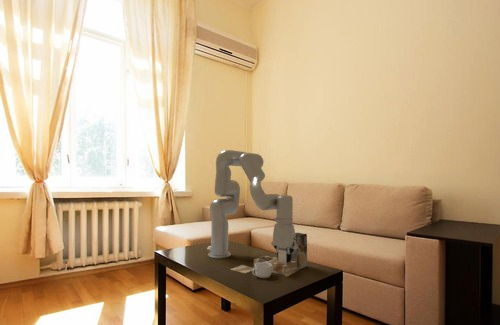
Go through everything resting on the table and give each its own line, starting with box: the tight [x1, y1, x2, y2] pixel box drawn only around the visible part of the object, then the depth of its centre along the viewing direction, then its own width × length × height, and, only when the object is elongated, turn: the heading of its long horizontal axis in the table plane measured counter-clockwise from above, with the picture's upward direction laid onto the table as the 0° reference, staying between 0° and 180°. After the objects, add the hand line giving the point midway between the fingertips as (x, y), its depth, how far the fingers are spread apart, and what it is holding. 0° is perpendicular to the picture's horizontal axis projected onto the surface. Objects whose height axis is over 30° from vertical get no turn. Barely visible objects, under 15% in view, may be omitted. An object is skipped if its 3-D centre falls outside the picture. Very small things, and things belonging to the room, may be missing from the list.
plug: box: [278, 246, 290, 265], centre depth 135 cm, size 4×4×10 cm
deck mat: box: [230, 264, 255, 274], centre depth 138 cm, size 9×9×1 cm
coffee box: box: [291, 232, 308, 271], centre depth 144 cm, size 9×6×16 cm
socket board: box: [253, 254, 298, 278], centre depth 138 cm, size 18×10×5 cm, turn 54°
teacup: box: [251, 262, 273, 279], centre depth 128 cm, size 10×8×5 cm
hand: (284, 260), depth 135 cm, fingers closed on plug, 4 cm apart
